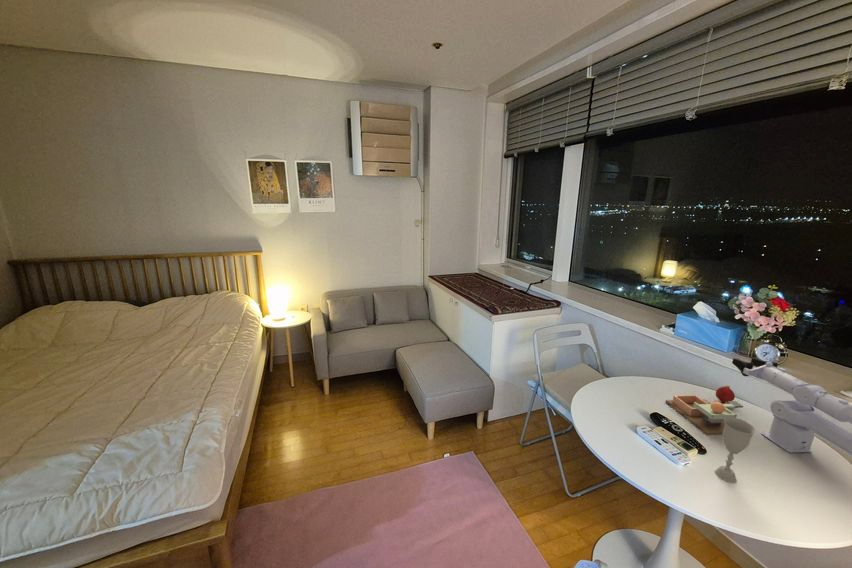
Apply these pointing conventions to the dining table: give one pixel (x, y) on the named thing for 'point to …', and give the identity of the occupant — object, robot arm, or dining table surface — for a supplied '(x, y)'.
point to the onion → (725, 394)
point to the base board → (700, 420)
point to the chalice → (734, 444)
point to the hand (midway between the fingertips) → (742, 360)
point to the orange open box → (681, 403)
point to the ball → (717, 407)
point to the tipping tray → (718, 417)
